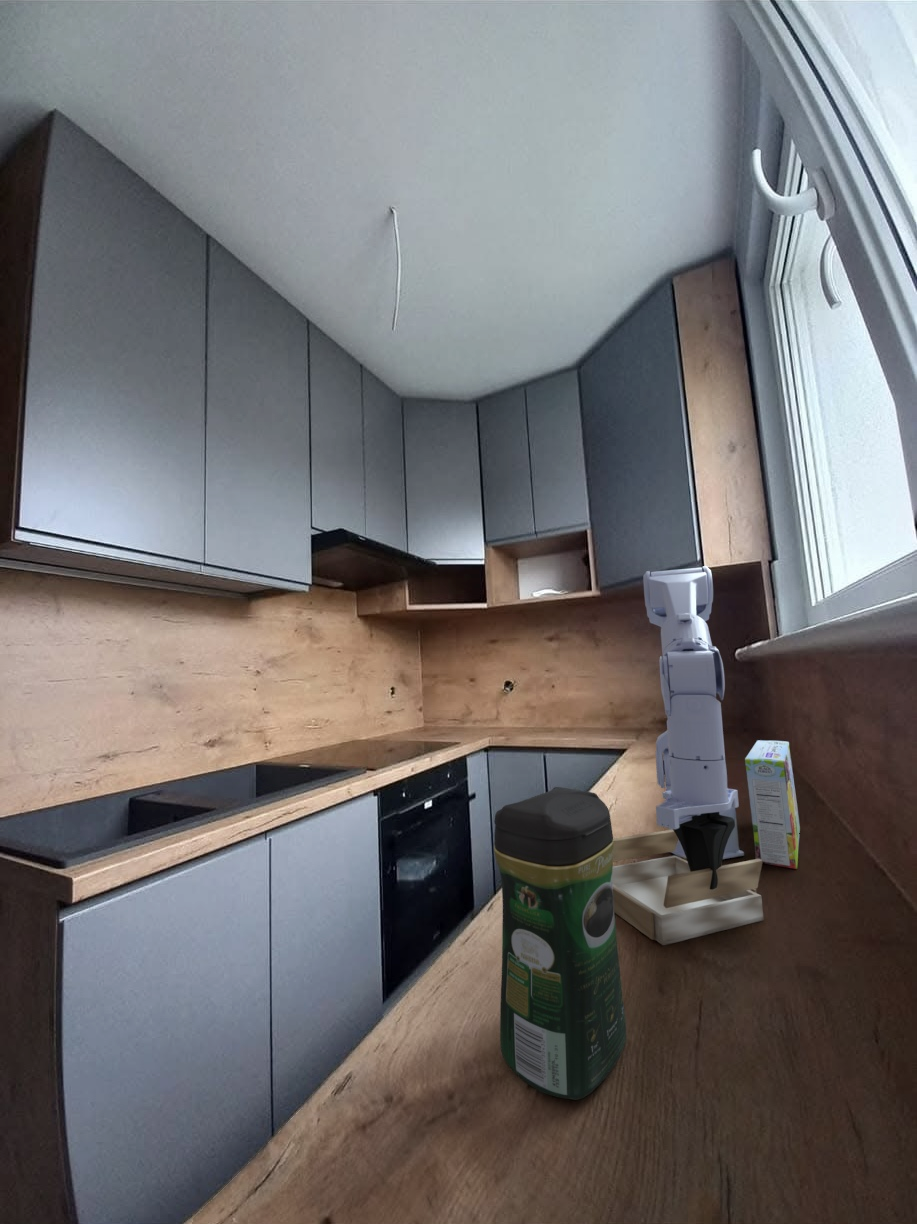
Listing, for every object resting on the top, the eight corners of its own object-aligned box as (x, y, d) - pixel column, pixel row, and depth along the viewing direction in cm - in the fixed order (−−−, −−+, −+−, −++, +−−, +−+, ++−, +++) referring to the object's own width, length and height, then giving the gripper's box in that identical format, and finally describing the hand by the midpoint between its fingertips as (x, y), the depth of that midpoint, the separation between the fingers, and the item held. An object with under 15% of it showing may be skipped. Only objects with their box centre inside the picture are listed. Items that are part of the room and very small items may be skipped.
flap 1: (672, 848, 66) (678, 828, 66) (674, 850, 66) (680, 830, 65) (593, 862, 62) (598, 840, 61) (594, 864, 62) (600, 843, 61)
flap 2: (754, 885, 55) (759, 858, 54) (757, 888, 54) (762, 860, 54) (663, 905, 51) (668, 876, 50) (666, 908, 50) (670, 878, 50)
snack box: (763, 824, 88) (755, 739, 89) (801, 829, 84) (792, 741, 86) (752, 862, 70) (743, 756, 72) (799, 871, 67) (788, 759, 69)
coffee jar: (551, 996, 42) (542, 776, 45) (640, 1040, 37) (626, 789, 39) (480, 1062, 35) (474, 797, 38) (578, 1130, 30) (565, 816, 32)
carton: (679, 874, 67) (677, 853, 67) (766, 919, 54) (764, 893, 55) (586, 893, 62) (585, 870, 62) (659, 946, 50) (657, 917, 50)
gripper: (693, 747, 62) (701, 859, 60) (627, 758, 53) (634, 890, 52) (753, 753, 57) (763, 877, 55) (690, 767, 48) (700, 915, 46)
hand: (705, 885), depth 53 cm, fingers closed, pressing on flap 2
